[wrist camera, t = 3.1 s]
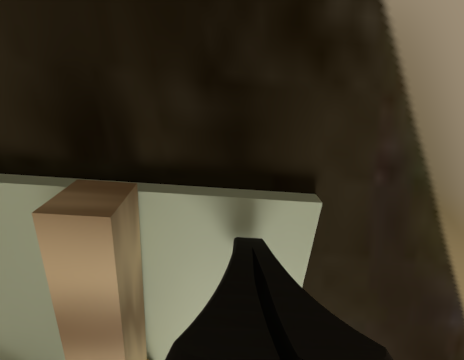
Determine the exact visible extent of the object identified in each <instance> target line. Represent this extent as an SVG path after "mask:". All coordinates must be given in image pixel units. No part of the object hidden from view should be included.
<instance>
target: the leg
mask: <svg viewBox="0 0 464 360" xmlns="http://www.w3.org/2000/svg"><path fill="white" fill-rule="evenodd" d="M32 217H33V222H34V226H35V230H36V234H37V239H38V243H39V247H40V252H41V256H42V260H43V265H44V269H45V273H46V278H47V282H48V286H49V291H50V295H51V299H52V304H53V308H54V312H55V316H56V321H57V325H58V329H59V334H60V338H61V342H62V347H63V351H64V355H65V360H149V359H147V349H146V331H145V313H144V296H143V278H142V260H141V242H140V224H139V206H138V188H137V183H126V182H111V181H95V180H80V179H77V180H76V181H74V182H73V183H72V184H70V185H69V186H68V187H66V188H65V189H64V190H62V191H61V192H59V193H58V194H57V195H55V196H54V197H53V198H51V199H50V200H49V201H47V202H46V203H44V204H43V205H42V206H40V207H39V208H38V209H36V210H35V211H33V212H32Z"/></svg>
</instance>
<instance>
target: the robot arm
mask: <svg viewBox="0 0 464 360" xmlns="http://www.w3.org/2000/svg"><path fill="white" fill-rule="evenodd" d="M165 360H393V358H392V357H391V355H390V354H389V352H388V351H387V349H386V348H385V347H383V346H381V345H380V344H378V343H376V342H375V341H373V340H371V339H370V338H368V337H366V336H365V335H363V334H361V333H360V332H358V331H356V330H355V329H353V328H352V327H350V326H349V325H348V324H346V323H345V322H343V321H342V320H340V319H339V318H337V317H336V316H335V315H333V314H332V313H331V312H329V311H328V310H327V309H326V308H324V307H323V306H322V305H321V304H319V303H318V302H317V301H316V300H315V299H314V298H312V297H311V296H310V295H309V294H308V293H307V292H306V291H305V290H304V289H303V288H302V287H301V286H300V285H299V284H298V283H297V282H296V281H295V280H294V279H293V278H292V277H291V276H290V274H289V273H288V272H287V271H286V270H285V268H284V267H283V266H282V265H281V263H280V262H279V261H278V260H277V258H276V257H275V256H274V254H273V253H272V252H271V250H270V249H269V247H268V246H267V244H266V243H265V242H264V240H263V239H262V238H245V237H236V238H234V242H233V252H232V255H231V258H230V261H229V264H228V266H227V269H226V271H225V273H224V275H223V277H222V279H221V281H220V283H219V285H218V287H217V289H216V290H215V292H214V294H213V295H212V297H211V298H210V300H209V301H208V303H207V304H206V306H205V307H204V308H203V310H202V311H201V312H200V313H199V315H198V316H197V317H196V318H195V320H194V321H193V322H192V323H191V324H190V326H189V327H188V328H187V329H186V330H185V331H184V332H183V333H182V334H181V335H180V336H179V337H178V338H177V339H176V340H175V341H174V343H173V345H172V346H171V348H170V350H169V352H168V354H167V356H166V359H165Z"/></svg>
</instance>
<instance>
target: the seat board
mask: <svg viewBox="0 0 464 360" xmlns="http://www.w3.org/2000/svg"><path fill="white" fill-rule="evenodd" d="M76 180H77V179H75V178H60V177H44V176H29V175H14V174H0V360H65V355H64V351H63V347H62V342H61V338H60V334H59V329H58V325H57V321H56V316H55V312H54V308H53V304H52V299H51V295H50V291H49V286H48V282H47V278H46V273H45V269H44V265H43V260H42V256H41V252H40V247H39V243H38V239H37V234H36V230H35V226H34V222H33V217H32V212H33V211H35V210H36V209H38V208H39V207H40V206H42V205H43V204H44V203H46V202H47V201H49V200H50V199H51V198H53V197H54V196H55V195H57V194H58V193H59V192H61V191H62V190H64V189H65V188H66V187H68V186H69V185H70V184H72V183H73V182H74V181H76ZM80 180H91V179H80ZM95 181H106V180H95ZM111 182H122V181H111ZM126 183H137V182H126ZM137 188H138V206H139V224H140V242H141V260H142V278H143V296H144V313H145V331H146V349H147V359H149V360H165V359H166V356H167V354H168V352H169V350H170V348H171V346H172V345H173V343H174V341H175V340H176V339H177V338H178V337H179V336H180V335H181V334H182V333H183V332H184V331H185V330H186V329H187V328H188V327H189V326H190V324H191V323H192V322H193V321H194V320H195V318H196V317H197V316H198V315H199V313H200V312H201V311H202V310H203V308H204V307H205V306H206V304H207V303H208V301H209V300H210V298H211V297H212V295H213V294H214V292H215V290H216V289H217V287H218V285H219V283H220V281H221V279H222V277H223V275H224V273H225V271H226V269H227V266H228V264H229V261H230V258H231V255H232V252H233V242H234V238H236V237H245V238H262V239H263V240H264V242H265V243H266V244H267V246H268V247H269V249H270V250H271V252H272V253H273V254H274V256H275V257H276V258H277V260H278V261H279V262H280V263H281V265H282V266H283V267H284V268H285V270H286V271H287V272H288V273H289V274H290V276H291V277H292V278H293V279H294V280H295V281H296V282H297V283H298V284H299V285H300V286H301V287H302V286H303V281H304V277H305V273H306V269H307V265H308V261H309V256H310V252H311V248H312V244H313V240H314V236H315V232H316V227H317V223H318V219H319V215H320V211H321V207H322V202H321V200H320V199H319V198H318V197H317V195H316V194H307V193H291V192H276V191H260V190H245V189H229V188H214V187H199V186H183V185H168V184H152V183H137Z"/></svg>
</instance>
